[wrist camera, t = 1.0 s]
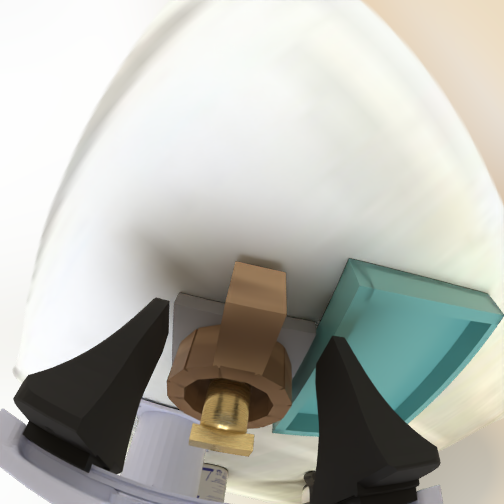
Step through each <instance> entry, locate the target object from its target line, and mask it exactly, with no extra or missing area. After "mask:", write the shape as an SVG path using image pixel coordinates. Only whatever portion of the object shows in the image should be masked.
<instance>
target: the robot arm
mask: <svg viewBox="0 0 504 504" xmlns="http://www.w3.org/2000/svg"><path fill="white" fill-rule="evenodd" d="M168 333H169V301H167V300H163V299H160V298H155V299H153V300H152V301H151V302H150V303H149V304H148V305H147V306H146V307H145V308H144V309H143V310H141V311H140V312H139V313H138V314H137V315H136V316H135V317H134V318H132V319H131V320H130V321H129V322H128V323H126V324H125V325H124V326H123V327H122V328H120V329H119V330H118V331H116V332H115V333H114V334H112V335H111V336H110V337H108V338H107V339H106V340H104V341H103V342H101V343H100V344H98V345H97V346H95V347H93V348H92V349H90V350H88V351H86V352H85V353H83V354H81V355H79V356H77V357H75V358H73V359H71V360H69V361H67V362H65V363H62V364H60V365H58V366H55V367H53V368H50V369H47V370H44V371H41V372H37V373H34V374H31V375H28V376H27V378H26V379H25V380H24V381H23V383H22V385H21V387H20V388H19V390H18V392H17V393H16V395H15V397H14V402H15V404H16V406H17V407H18V408H19V409H20V411H21V412H22V413H23V414H24V415H25V416H26V418H27V419H28V420H29V422H28V424H27V426H26V425H25V424H24V423H23V422H22V421H20V420H19V419H17V418H16V417H15V416H13V415H12V414H10V413H9V412H8V411H6V410H5V409H1V411H0V467H1V468H2V469H4V470H5V471H6V472H7V473H9V474H10V475H11V476H13V477H14V478H15V479H16V480H18V481H19V482H20V483H22V484H23V485H25V486H26V487H27V488H29V489H30V490H32V491H33V492H35V493H36V494H38V495H39V496H41V497H42V498H44V499H45V500H47V501H48V502H50V503H52V504H228V503H221V502H215V501H209V500H204V499H199V498H197V493H198V488H199V483H200V478H201V473H202V467H203V462H204V457H205V452H208V451H209V450H208V449H203V448H198V447H194V446H190V445H189V437H190V433H191V429H192V424H193V423H195V424H199V425H200V421H199V420H197V419H195V418H193V417H191V416H189V415H187V414H185V413H183V412H184V411H180V410H176V409H173V408H169V407H165V406H162V405H159V404H155V403H152V402H149V401H146V400H143V399H141V398H142V396H143V393H144V391H145V389H146V386H147V384H148V382H149V380H150V378H151V376H152V373H153V371H154V369H155V367H156V365H157V363H158V361H159V358H160V356H161V354H162V352H163V349H164V346H165V343H166V339H167V336H168ZM315 386H316V398H317V409H318V421H319V444H318V457H317V467H316V474H315V481H314V487H313V492H312V497H311V501H310V504H443V500H442V493H441V487H440V485H436V486H433V487H429V488H426V489H423V490H419V491H417V492H416V487H417V486H419V478H421V477H423V476H425V475H427V474H428V473H430V472H432V471H433V470H435V469H436V468H438V467H439V465H440V458H439V454H438V450H437V447H436V446H434V445H433V444H432V443H430V442H429V441H427V440H426V439H425V438H423V437H422V436H421V435H419V434H418V433H417V432H416V431H415V430H413V429H412V428H411V427H410V426H409V425H408V424H407V423H406V422H405V421H404V420H403V419H402V418H401V417H400V416H399V415H398V414H397V413H396V412H395V411H394V410H393V409H392V408H391V406H390V405H389V404H388V403H387V402H386V400H385V399H384V398H383V397H382V395H381V394H380V393H379V391H378V390H377V389H376V387H375V386H374V384H373V383H372V381H371V380H370V378H369V377H368V375H367V374H366V372H365V371H364V369H363V367H362V366H361V364H360V362H359V361H358V359H357V357H356V356H355V354H354V352H353V351H352V349H351V347H350V345H349V344H348V342H347V341H346V339H345V337H339V336H332V337H331V339H330V340H329V342H328V344H327V346H326V347H325V349H324V351H323V353H322V354H321V356H320V358H319V359H318V361H317V363H316V375H315ZM136 414H137V417H138V421H139V422H138V425H137V427H136V430H135V433H134V436H133V439H132V442H131V445H130V448H129V451H128V453H127V456H126V452H127V448H128V444H129V440H130V436H131V432H132V428H133V425H134V421H135V417H136ZM125 456H126V459H125ZM119 473H121V475H120V476H119V475H117V474H119Z"/></svg>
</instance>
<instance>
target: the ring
mask: <svg viewBox="0 0 504 504" xmlns="http://www.w3.org/2000/svg"><path fill="white" fill-rule="evenodd" d="M286 315H287V301H286V272H282V271H277V270H273V269H268V268H264V267H259V266H255V265H250V264H246V263H241V262H237V261H236V262H235V266H234V270H233V274H232V278H231V281H230V285H229V289H228V293H227V297H226V301H225V306H224V311H223V316H222V321H221V324H220V325H213V326H207V327H201V328H198V329H196V330H194V331H193V332H192V333H191V334H190V335H188V336H187V337H186V338H185V339H184V340H182V341H181V343H180V345H179V348H178V351H177V354H176V356H175V359H174V362H173V365H172V368H171V371H170V373H169V376H168V379H167V396H168V398H169V399H170V400H171V401H172V402H173V403H174V404H175V405H176V406H177V407H178V408H179V409H180V411H184V412H183V413H185V414H187V415H189V416H191V417H193V418H195V419H197V420H199V421H201V417H202V412H203V408H204V403H205V399H206V395H207V390H208V386H209V381H210V379H212V378H225V379H230V380H235V381H240V382H245V383H249V384H251V385H252V387H251V396H250V405H249V415H248V424H247V429H251V428H260V427H265V426H267V425H270V424H272V423H275V422H277V421H280V420H281V419H283V418H284V417H285V415H286V414H287V412H288V411H289V409H290V408H291V406H292V367H291V362H290V359H289V357H288V354H287V351H286V349H285V347H284V346H283V345H282V344H280V343H279V342H277V338H278V336H279V333H280V331H281V328H282V326H283V323H284V320H285V318H286Z"/></svg>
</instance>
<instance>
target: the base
mask: <svg viewBox="0 0 504 504" xmlns="http://www.w3.org/2000/svg"><path fill="white" fill-rule="evenodd" d="M224 306H225V303H221V302H216V301H212V300H208V299H204V298H199V297H195V296H191V295H187V294H183V293H179V294H178V296H177V298H176V300H175V303H174V316H173V344H172V365H173V362H174V359H175V356H176V354H177V351H178V348H179V345H180V343H181V341H182V340H184V339H185V338H186V337H187V336H188V335H190V334H191V333H192V332H193V331H194V330H196V329H198V328H201V327H207V326H213V325H220V324H221V321H222V316H223V311H224ZM316 334H317V333H316V325H315V322H313V321H308V320H302V319H297V318H292V317H287V316H286V318H285V320H284V323H283V326H282V328H281V331H280V333H279V336H278V338H277V342H279V343H280V344H282V345H283V346H284V347H285V349H286V351H287V354H288V357H289V359H290V362H291V367H292V379H293V377H294V375H295V374H296V372H297V370H298V368H299V366H300V364H301V363H302V361H303V359H304V357H305V355H306V353H307V351H308V349H309V348H310V346H311V344H312V342H313V340H314V338H315V336H316Z"/></svg>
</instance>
